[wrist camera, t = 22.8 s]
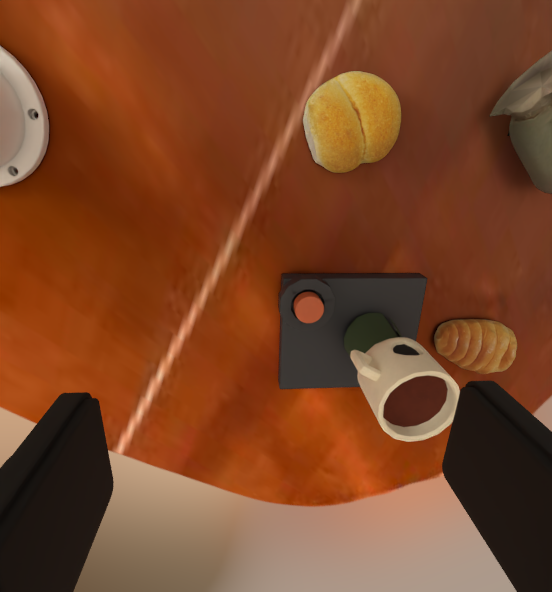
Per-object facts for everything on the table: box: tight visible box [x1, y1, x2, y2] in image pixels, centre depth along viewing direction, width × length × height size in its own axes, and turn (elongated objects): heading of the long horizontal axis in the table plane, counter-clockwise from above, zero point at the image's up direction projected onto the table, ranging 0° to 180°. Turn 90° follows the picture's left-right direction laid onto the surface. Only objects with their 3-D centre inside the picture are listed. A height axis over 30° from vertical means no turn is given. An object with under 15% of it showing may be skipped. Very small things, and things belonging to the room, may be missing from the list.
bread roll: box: [303, 71, 401, 173], centre depth 33 cm, size 8×9×4 cm
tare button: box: [293, 292, 324, 323], centre depth 37 cm, size 3×3×2 cm
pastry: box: [434, 319, 517, 374], centre depth 43 cm, size 9×7×4 cm
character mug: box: [344, 313, 460, 442], centre depth 35 cm, size 11×7×13 cm, turn 59°
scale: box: [278, 273, 427, 389], centre depth 41 cm, size 16×14×4 cm
